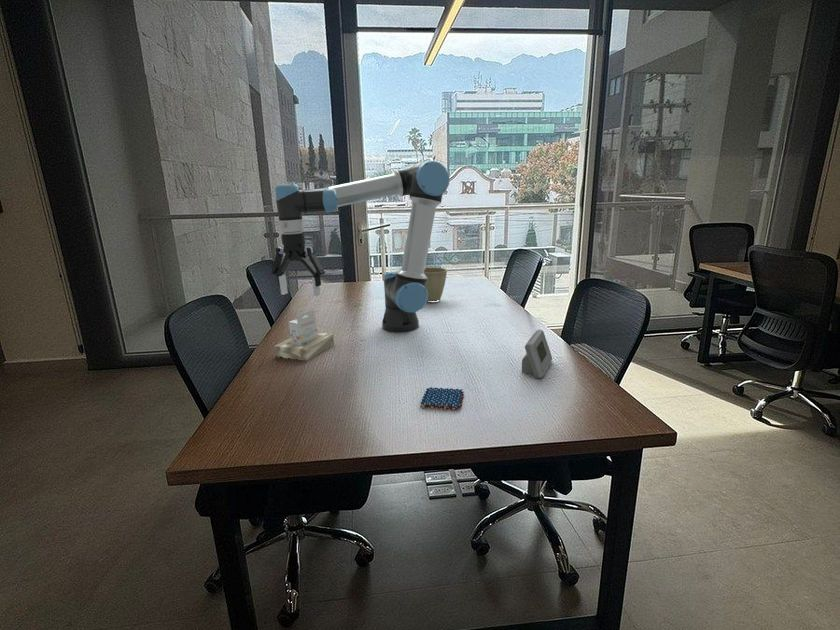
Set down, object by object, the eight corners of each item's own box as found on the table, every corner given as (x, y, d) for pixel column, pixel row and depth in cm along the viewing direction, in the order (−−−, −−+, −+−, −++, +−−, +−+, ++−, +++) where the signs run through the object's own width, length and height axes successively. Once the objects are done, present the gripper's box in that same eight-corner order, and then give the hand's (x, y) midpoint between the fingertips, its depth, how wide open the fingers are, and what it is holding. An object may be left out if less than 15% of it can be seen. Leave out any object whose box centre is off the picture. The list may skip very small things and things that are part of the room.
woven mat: (460, 413, 109) (460, 405, 109) (419, 410, 111) (419, 403, 111) (464, 394, 119) (464, 387, 119) (427, 392, 121) (426, 385, 121)
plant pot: (437, 306, 208) (437, 273, 204) (412, 302, 216) (410, 271, 211) (452, 299, 220) (452, 268, 215) (428, 296, 228) (427, 266, 223)
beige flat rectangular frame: (334, 344, 161) (333, 334, 160) (307, 360, 146) (305, 349, 145) (304, 341, 165) (303, 331, 164) (275, 356, 150) (274, 346, 149)
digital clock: (540, 381, 124) (542, 346, 121) (511, 374, 130) (512, 341, 127) (561, 363, 136) (563, 331, 134) (534, 357, 142) (535, 326, 139)
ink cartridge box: (309, 345, 160) (305, 307, 156) (319, 347, 158) (315, 308, 154) (291, 352, 154) (286, 313, 149) (301, 355, 151) (296, 314, 147)
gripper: (254, 234, 145) (264, 295, 151) (317, 233, 136) (325, 298, 142) (269, 232, 152) (278, 290, 158) (330, 231, 143) (337, 293, 149)
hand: (300, 294), depth 150 cm, fingers open, 13 cm apart
